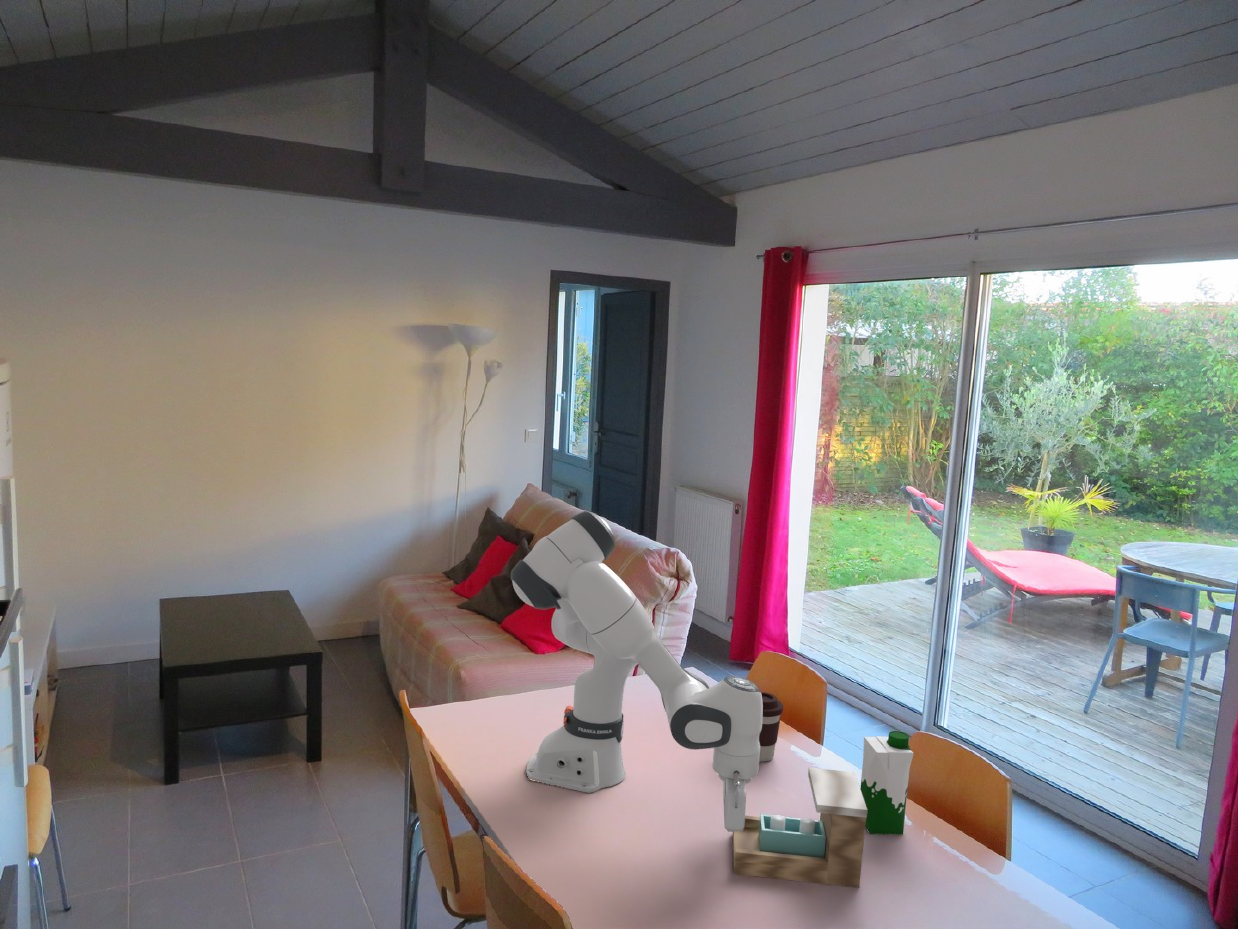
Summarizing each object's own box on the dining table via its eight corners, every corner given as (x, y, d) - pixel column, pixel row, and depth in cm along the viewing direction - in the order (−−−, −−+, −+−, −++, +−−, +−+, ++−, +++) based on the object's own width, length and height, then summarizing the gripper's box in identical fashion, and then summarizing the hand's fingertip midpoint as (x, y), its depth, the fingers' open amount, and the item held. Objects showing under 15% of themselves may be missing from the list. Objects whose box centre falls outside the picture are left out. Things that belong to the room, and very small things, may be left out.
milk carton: (909, 837, 184) (918, 744, 182) (866, 836, 183) (875, 743, 181) (892, 815, 193) (901, 726, 190) (851, 814, 192) (860, 725, 190)
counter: (734, 875, 167) (740, 796, 165) (732, 833, 182) (738, 760, 180) (859, 889, 165) (867, 810, 163) (847, 845, 179) (854, 772, 178)
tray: (820, 842, 175) (822, 815, 175) (823, 859, 169) (826, 831, 169) (758, 835, 177) (760, 809, 176) (760, 852, 171) (762, 824, 170)
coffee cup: (778, 767, 212) (783, 707, 210) (736, 761, 214) (741, 701, 212) (779, 750, 222) (784, 692, 220) (739, 744, 224) (743, 686, 222)
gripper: (755, 788, 162) (749, 859, 164) (750, 740, 182) (745, 804, 184) (720, 785, 163) (715, 856, 165) (719, 737, 183) (714, 801, 185)
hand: (730, 828), depth 175 cm, fingers closed
